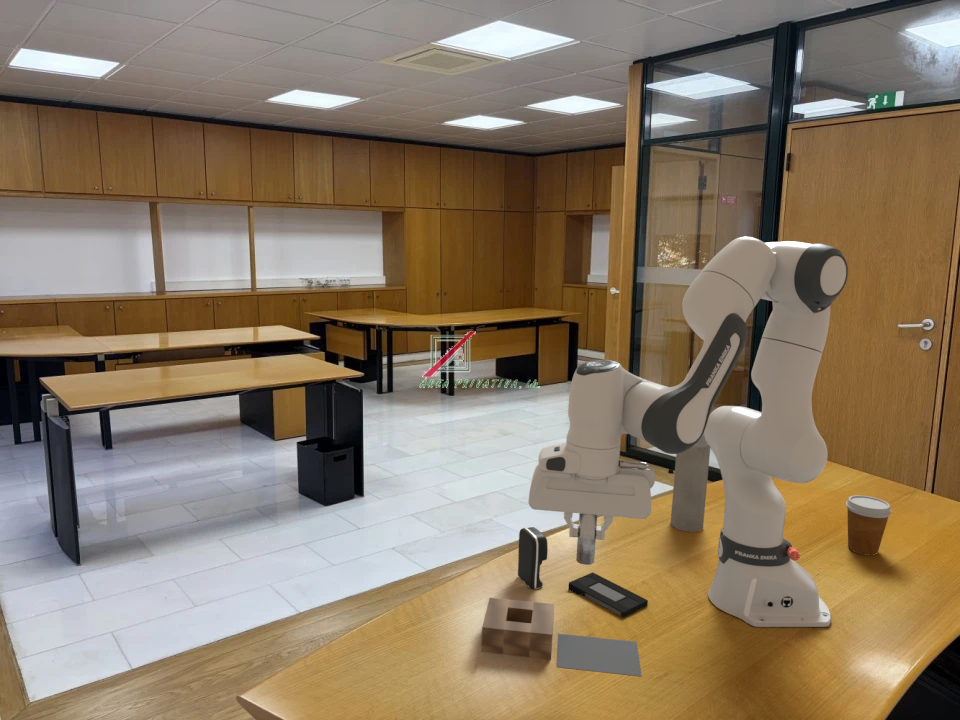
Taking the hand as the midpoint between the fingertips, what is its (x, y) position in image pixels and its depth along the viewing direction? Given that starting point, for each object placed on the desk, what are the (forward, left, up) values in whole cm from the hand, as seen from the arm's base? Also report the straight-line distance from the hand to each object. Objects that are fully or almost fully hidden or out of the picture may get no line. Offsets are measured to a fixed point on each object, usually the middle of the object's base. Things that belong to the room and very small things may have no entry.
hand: (586, 537), depth 116 cm
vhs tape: (-5, -20, -22) cm, 31 cm away
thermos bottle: (-27, -61, -22) cm, 70 cm away
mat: (-3, 0, -22) cm, 22 cm away
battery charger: (+10, -24, -22) cm, 34 cm away
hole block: (+11, -2, -22) cm, 24 cm away
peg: (0, 0, -4) cm, 4 cm away
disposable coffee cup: (-67, -55, -22) cm, 89 cm away
